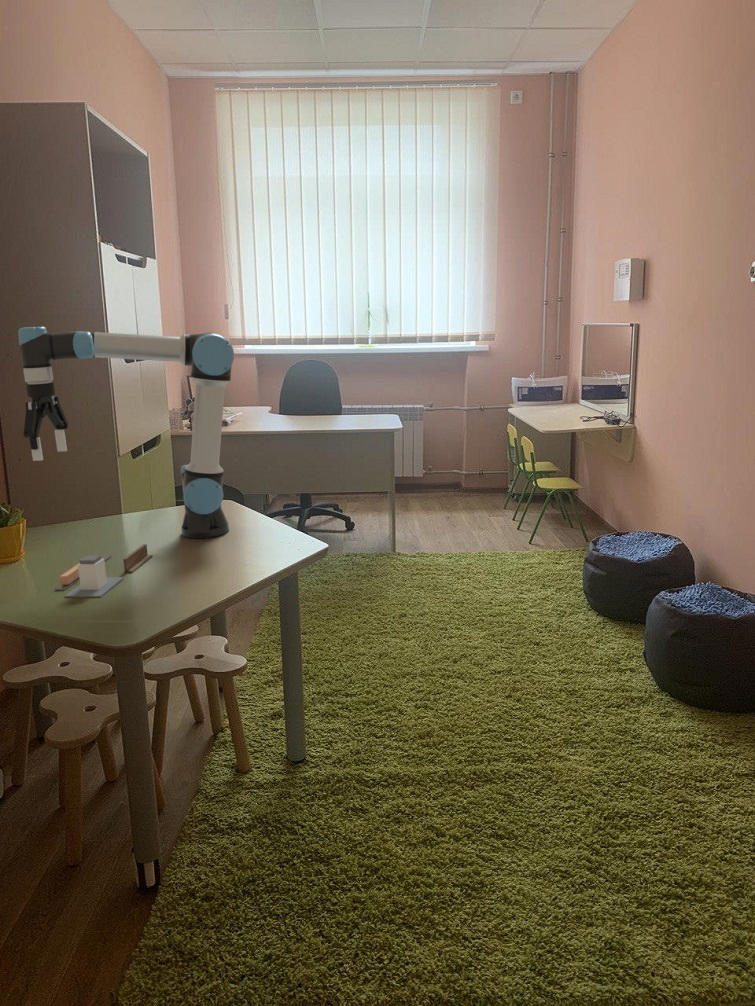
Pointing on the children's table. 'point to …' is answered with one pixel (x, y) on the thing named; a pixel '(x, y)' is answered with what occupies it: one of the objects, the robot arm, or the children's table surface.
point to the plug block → (92, 573)
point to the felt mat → (95, 593)
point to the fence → (136, 559)
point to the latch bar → (70, 575)
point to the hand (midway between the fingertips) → (50, 455)
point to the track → (64, 587)
